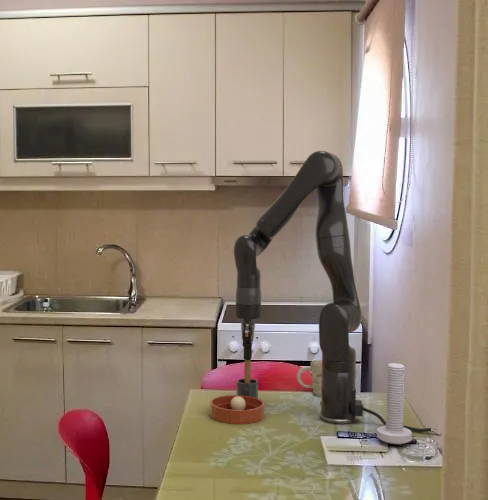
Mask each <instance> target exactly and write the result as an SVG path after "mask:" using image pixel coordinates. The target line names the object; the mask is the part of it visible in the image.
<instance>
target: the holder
mask: <svg viewBox="0 0 488 500" xmlns="http://www.w3.org/2000/svg"><path fill="white" fill-rule="evenodd" d="M236 395H245V396H251V397H255V398H258V399H259V380H258V379H255V378H251V379H250V384H245V383H244V378H238V379H236Z"/></svg>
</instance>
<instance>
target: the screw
mask: <svg viewBox="0 0 488 500" xmlns="http://www.w3.org/2000/svg"><path fill="white" fill-rule="evenodd" d="M386 369H387V372H386V376H387V377H386V378H387V379H386V402H385V403H386V404H385V408H386V409H385V410H386V411H385V413H386V414H385V415H386V416H385V421H386V425H387V426H386V425H381V426H378V427H377V428H376V438H377V439H379V440H381V441H383V442H385V443H387V444H389V445H396V446H397V445H398V446H399V445H403V444H407V443H410V442H411V441H412V439H413V436H412V435H413V431H411V430H409V429H407V428H404V427H403V425H404V407H405V405H404V404H405V403H404V400H405V398H404V397H405V393H404V392H405V370H406V368H405V365H404V364H401V363H398V362H397V363H396V362H395V363H394V362H391V363H388V364H387V367H386Z"/></svg>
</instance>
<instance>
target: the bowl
mask: <svg viewBox="0 0 488 500" xmlns="http://www.w3.org/2000/svg"><path fill="white" fill-rule="evenodd" d="M236 396H240V397H242V398H243V399H244V400H245V402H246V406H245V409H244V410H233V409H232V408H231V400H232V399H233V398H234V397H236ZM209 416H210V418H211V419H213V420H215V421H218V422H220V423H225V424H230V425H246V424H254V423H257V422H261V421H262V420H264V419H265V401H264V400H263V399H260V398H259V397H258V398H255V397H251V396H245V395H237V394H226V395H220V396H216V397H213V398H212V399H210V401H209Z"/></svg>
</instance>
